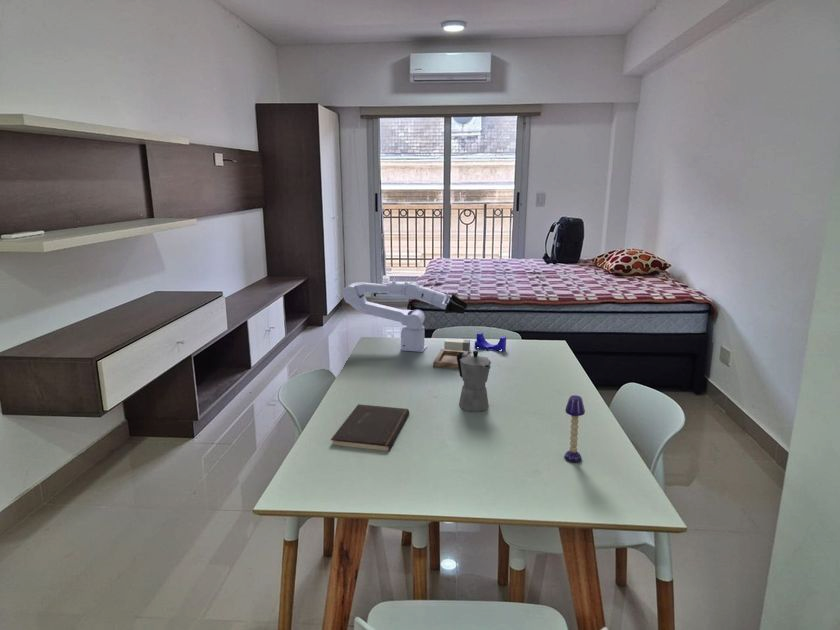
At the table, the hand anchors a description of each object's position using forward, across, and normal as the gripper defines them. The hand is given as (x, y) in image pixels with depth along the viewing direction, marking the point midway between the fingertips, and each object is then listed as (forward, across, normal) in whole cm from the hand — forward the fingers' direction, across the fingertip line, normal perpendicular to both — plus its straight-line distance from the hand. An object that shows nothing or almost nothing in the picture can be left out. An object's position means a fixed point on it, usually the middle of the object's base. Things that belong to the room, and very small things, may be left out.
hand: (465, 308), depth 214 cm
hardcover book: (-12, -75, +21) cm, 79 cm away
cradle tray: (+2, -13, +18) cm, 22 cm away
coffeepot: (+13, -52, +14) cm, 56 cm away
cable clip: (+15, +6, +15) cm, 22 cm away
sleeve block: (+2, +1, +18) cm, 19 cm away
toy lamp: (+40, -80, +5) cm, 90 cm away
